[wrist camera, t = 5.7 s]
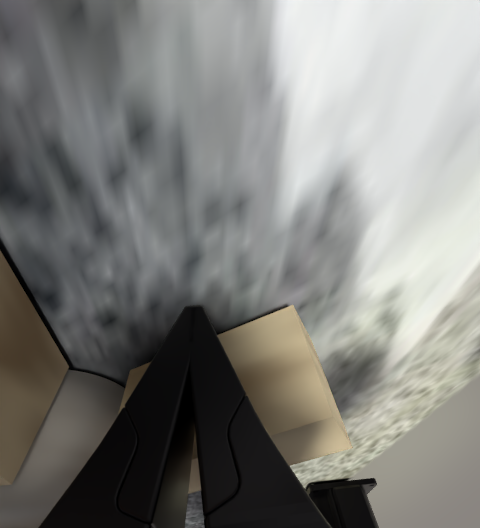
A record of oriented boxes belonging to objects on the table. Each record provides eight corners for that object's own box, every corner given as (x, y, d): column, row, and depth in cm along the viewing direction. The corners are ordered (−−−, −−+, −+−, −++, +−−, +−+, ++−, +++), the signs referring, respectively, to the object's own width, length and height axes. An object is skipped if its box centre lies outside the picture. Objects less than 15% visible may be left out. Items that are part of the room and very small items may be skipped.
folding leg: (164, 395, 13) (149, 504, 9) (130, 370, 11) (98, 488, 8) (311, 341, 11) (352, 448, 8) (292, 304, 10) (333, 416, 7)
